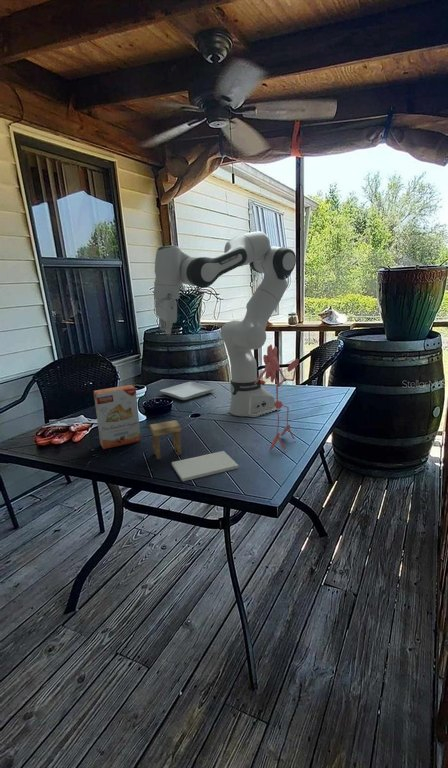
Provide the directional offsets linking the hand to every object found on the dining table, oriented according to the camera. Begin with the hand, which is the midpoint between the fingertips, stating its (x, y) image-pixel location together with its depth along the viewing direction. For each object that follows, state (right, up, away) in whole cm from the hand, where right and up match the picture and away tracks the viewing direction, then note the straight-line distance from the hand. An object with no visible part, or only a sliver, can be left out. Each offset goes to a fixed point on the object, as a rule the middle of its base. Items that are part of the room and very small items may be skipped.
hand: (165, 331), depth 147 cm
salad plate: (+3, -25, +61) cm, 66 cm away
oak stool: (+2, -43, -9) cm, 44 cm away
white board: (+15, -45, -20) cm, 51 cm away
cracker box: (-17, -41, +2) cm, 44 cm away
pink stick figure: (+38, -40, -5) cm, 56 cm away
